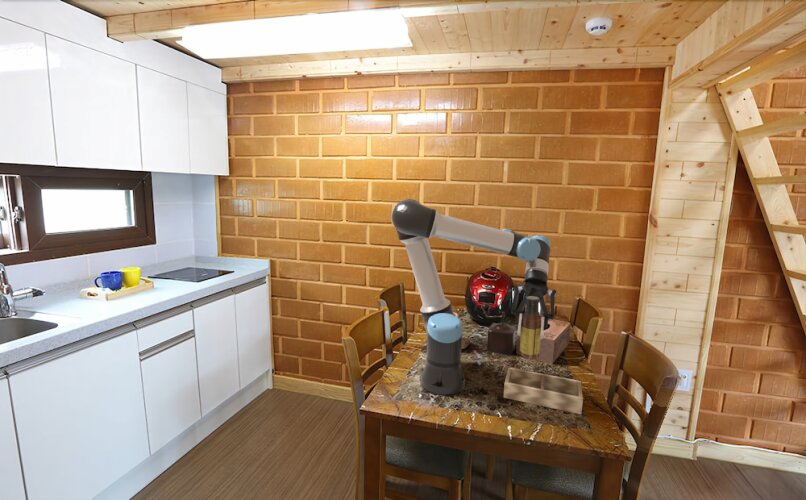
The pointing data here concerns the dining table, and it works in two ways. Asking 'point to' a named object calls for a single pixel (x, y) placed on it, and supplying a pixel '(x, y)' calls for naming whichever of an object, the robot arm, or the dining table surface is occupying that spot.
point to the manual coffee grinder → (500, 335)
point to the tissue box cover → (551, 340)
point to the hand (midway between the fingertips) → (530, 335)
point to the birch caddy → (544, 390)
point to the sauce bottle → (530, 329)
